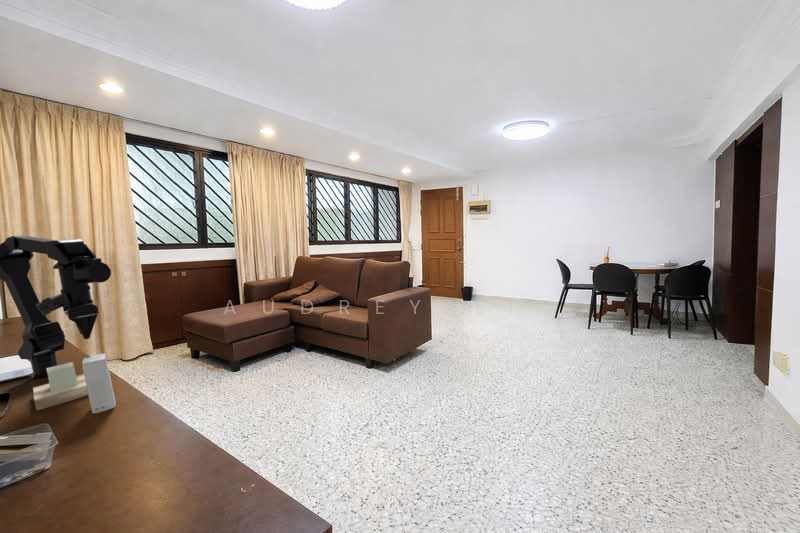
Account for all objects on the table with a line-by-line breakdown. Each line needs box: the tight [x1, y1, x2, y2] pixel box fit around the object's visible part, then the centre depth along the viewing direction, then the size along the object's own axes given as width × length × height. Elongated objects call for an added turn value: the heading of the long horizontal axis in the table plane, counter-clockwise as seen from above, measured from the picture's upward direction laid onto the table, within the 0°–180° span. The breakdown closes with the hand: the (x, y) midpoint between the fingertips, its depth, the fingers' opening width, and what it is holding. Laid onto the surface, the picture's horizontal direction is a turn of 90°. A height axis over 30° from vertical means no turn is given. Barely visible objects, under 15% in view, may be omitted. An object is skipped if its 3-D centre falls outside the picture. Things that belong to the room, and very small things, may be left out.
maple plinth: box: [32, 373, 88, 411], centre depth 93 cm, size 12×11×2 cm
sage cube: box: [46, 361, 78, 392], centre depth 92 cm, size 5×5×5 cm
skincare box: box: [81, 352, 117, 414], centre depth 84 cm, size 6×4×12 cm
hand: (84, 336), depth 104 cm, fingers open, 9 cm apart
